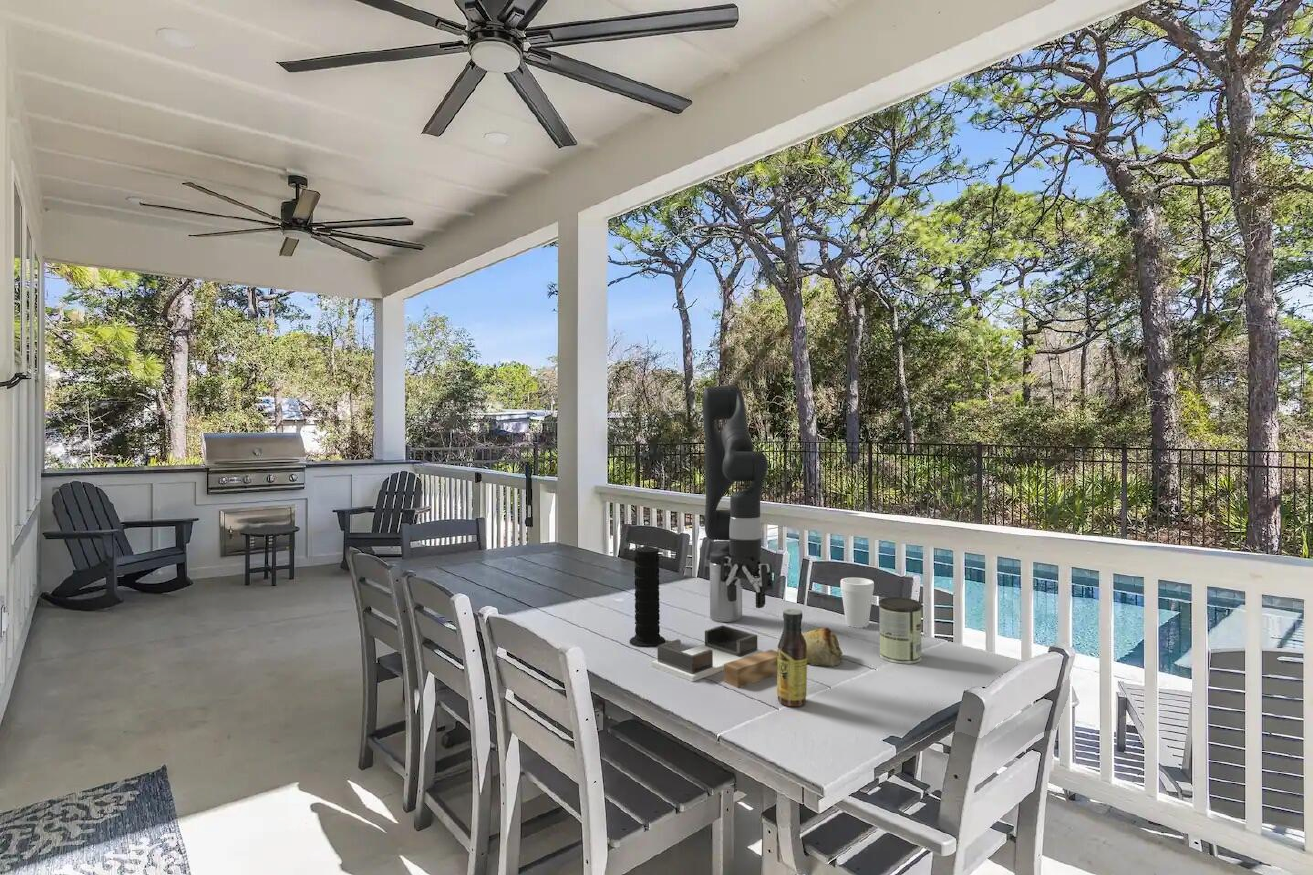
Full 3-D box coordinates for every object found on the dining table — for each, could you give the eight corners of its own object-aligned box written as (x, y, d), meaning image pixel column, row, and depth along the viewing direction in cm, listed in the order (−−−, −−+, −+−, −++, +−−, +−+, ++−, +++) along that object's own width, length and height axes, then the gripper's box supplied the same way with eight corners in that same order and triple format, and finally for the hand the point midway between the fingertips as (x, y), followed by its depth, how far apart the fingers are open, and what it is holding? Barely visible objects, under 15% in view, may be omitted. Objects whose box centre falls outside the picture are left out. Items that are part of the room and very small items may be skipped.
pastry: (852, 666, 169) (852, 634, 169) (804, 669, 167) (803, 637, 167) (828, 647, 183) (828, 618, 183) (783, 650, 181) (783, 620, 180)
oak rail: (771, 667, 169) (771, 649, 169) (785, 672, 165) (785, 654, 165) (723, 683, 159) (723, 663, 159) (737, 688, 156) (737, 669, 155)
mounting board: (722, 642, 187) (722, 638, 187) (763, 655, 177) (763, 650, 177) (651, 666, 170) (651, 661, 170) (692, 681, 159) (692, 676, 159)
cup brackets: (722, 639, 186) (722, 625, 186) (757, 650, 177) (757, 635, 177) (657, 661, 170) (657, 645, 169) (692, 674, 161) (692, 657, 161)
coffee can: (879, 648, 181) (879, 595, 181) (920, 652, 178) (920, 598, 178) (878, 661, 172) (878, 605, 171) (922, 666, 168) (922, 609, 168)
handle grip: (625, 646, 185) (661, 648, 183) (624, 548, 184) (661, 549, 182) (634, 634, 195) (668, 636, 193) (633, 542, 194) (668, 543, 192)
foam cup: (862, 631, 196) (862, 586, 196) (834, 624, 203) (834, 581, 202) (880, 625, 202) (880, 581, 202) (852, 618, 209) (852, 576, 209)
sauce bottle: (773, 697, 150) (773, 606, 150) (801, 695, 151) (801, 605, 150) (781, 709, 144) (781, 615, 143) (811, 708, 144) (810, 614, 144)
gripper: (779, 537, 159) (779, 607, 159) (733, 531, 170) (733, 596, 170) (758, 541, 154) (758, 613, 154) (712, 534, 165) (713, 601, 165)
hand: (745, 604), depth 162 cm, fingers open, 8 cm apart
